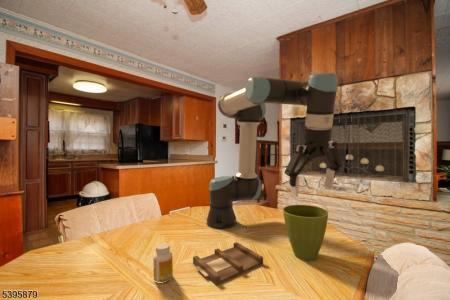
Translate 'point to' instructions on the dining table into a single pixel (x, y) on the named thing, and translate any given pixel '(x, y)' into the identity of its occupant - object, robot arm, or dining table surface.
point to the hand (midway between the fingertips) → (311, 191)
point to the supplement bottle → (163, 263)
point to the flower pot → (305, 229)
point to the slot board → (227, 263)
